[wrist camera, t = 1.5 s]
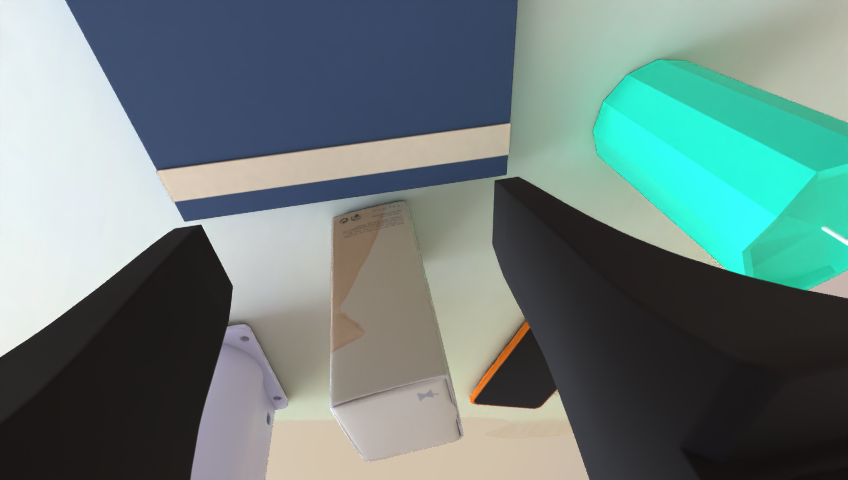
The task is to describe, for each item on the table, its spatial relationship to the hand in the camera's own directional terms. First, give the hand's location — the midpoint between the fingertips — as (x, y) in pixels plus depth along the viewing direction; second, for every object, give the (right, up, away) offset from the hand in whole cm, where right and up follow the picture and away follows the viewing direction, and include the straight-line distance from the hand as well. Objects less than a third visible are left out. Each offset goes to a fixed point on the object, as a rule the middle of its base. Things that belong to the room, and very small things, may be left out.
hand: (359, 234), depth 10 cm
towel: (-3, +8, +6) cm, 11 cm away
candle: (+13, +6, +11) cm, 19 cm away
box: (-1, 0, +13) cm, 14 cm away
